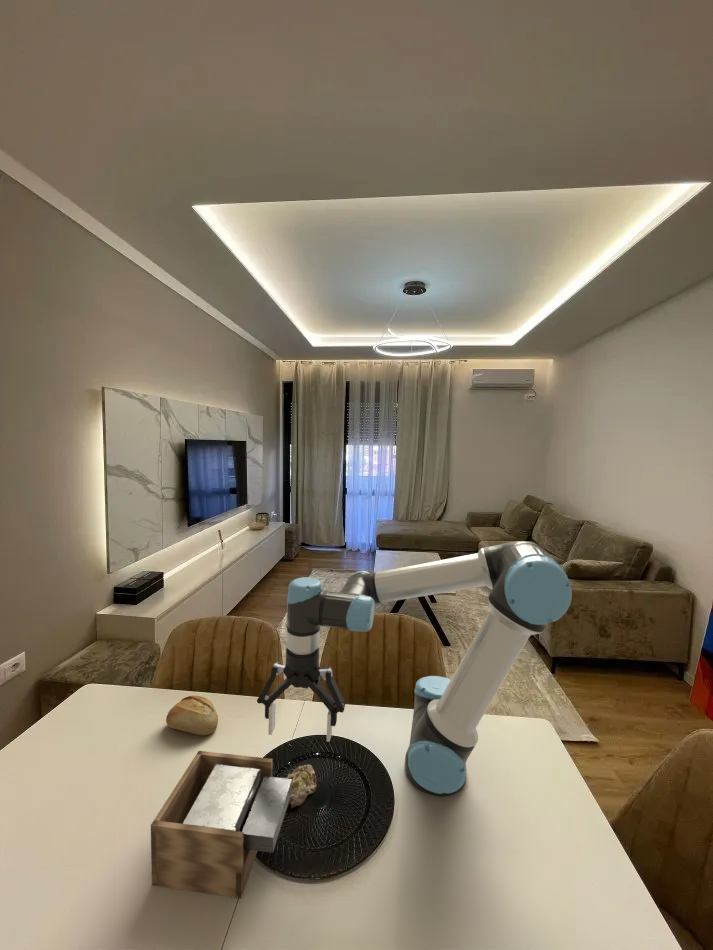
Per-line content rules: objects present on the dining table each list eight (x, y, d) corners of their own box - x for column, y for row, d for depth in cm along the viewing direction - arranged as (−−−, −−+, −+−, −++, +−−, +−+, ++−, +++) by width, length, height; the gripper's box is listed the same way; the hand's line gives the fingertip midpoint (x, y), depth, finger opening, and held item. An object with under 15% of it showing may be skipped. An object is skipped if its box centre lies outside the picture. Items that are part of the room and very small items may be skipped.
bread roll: (178, 712, 123) (178, 687, 122) (225, 720, 120) (225, 694, 120) (157, 735, 114) (157, 708, 113) (208, 744, 111) (208, 716, 110)
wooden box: (272, 809, 92) (272, 758, 91) (241, 898, 74) (241, 837, 73) (199, 800, 94) (198, 750, 93) (151, 885, 76) (150, 825, 75)
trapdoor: (182, 843, 77) (182, 823, 76) (216, 781, 91) (216, 763, 90) (272, 855, 75) (272, 834, 75) (292, 790, 89) (292, 772, 89)
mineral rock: (289, 759, 104) (319, 758, 102) (294, 775, 104) (323, 774, 102) (271, 796, 93) (303, 796, 91) (276, 814, 94) (308, 814, 92)
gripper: (359, 643, 97) (355, 728, 99) (255, 634, 99) (253, 717, 101) (355, 660, 89) (351, 752, 91) (243, 650, 92) (242, 739, 94)
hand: (300, 734), depth 96 cm, fingers open, 13 cm apart
